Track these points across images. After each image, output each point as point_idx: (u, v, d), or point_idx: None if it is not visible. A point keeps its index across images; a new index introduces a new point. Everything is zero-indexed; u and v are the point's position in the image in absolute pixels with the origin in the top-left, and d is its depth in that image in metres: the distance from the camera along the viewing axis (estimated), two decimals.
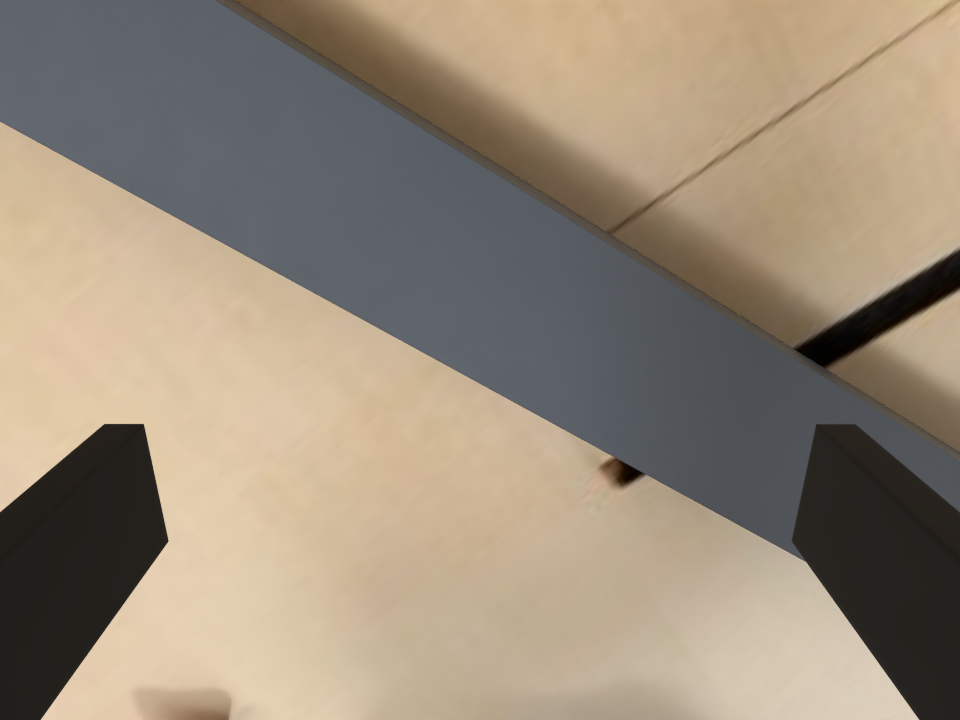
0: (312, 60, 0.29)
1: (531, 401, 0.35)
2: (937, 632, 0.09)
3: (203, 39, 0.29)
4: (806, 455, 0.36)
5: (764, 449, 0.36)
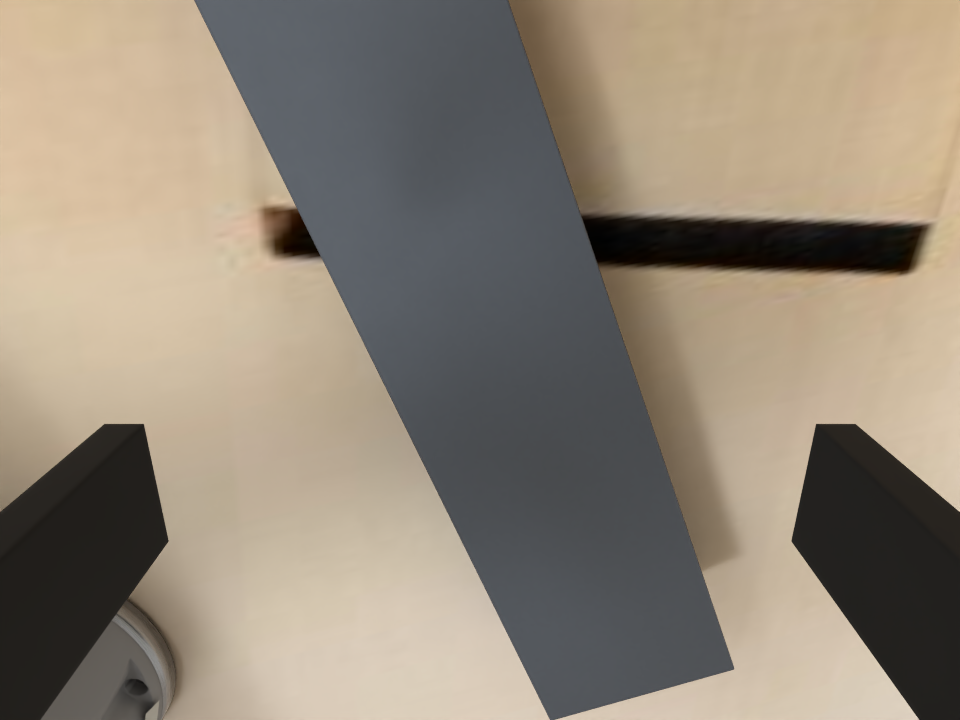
0: None
1: None
2: (937, 632, 0.09)
3: None
4: (492, 292, 0.25)
5: (448, 247, 0.25)
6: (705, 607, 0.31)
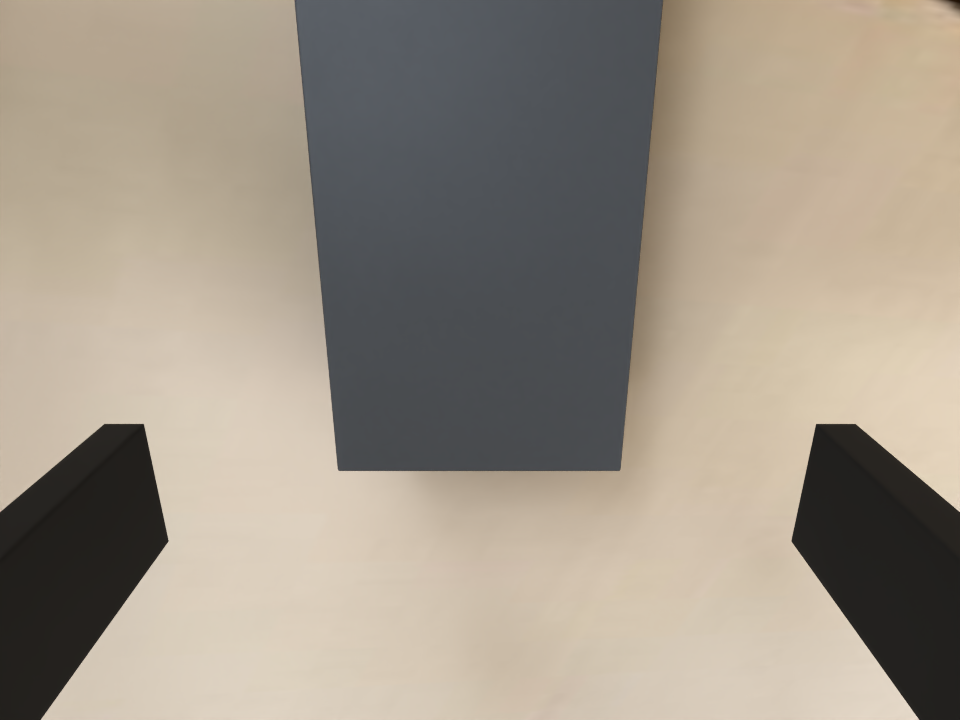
0: None
1: None
2: (937, 633, 0.09)
3: None
4: None
5: None
6: (619, 353, 0.21)
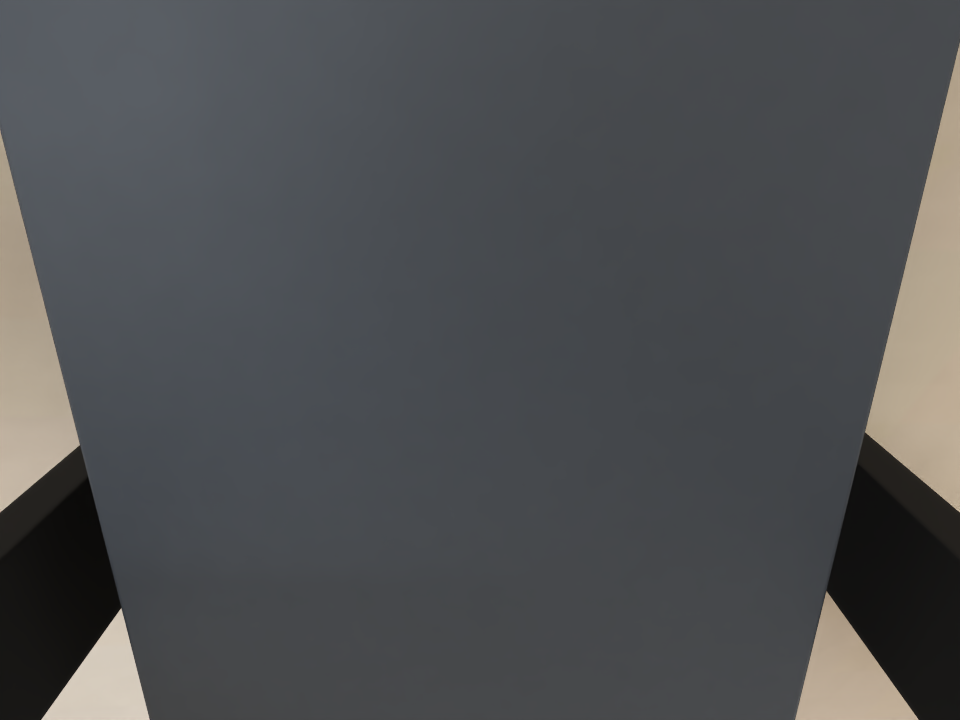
0: None
1: None
2: (936, 632, 0.09)
3: None
4: None
5: None
6: (787, 652, 0.09)
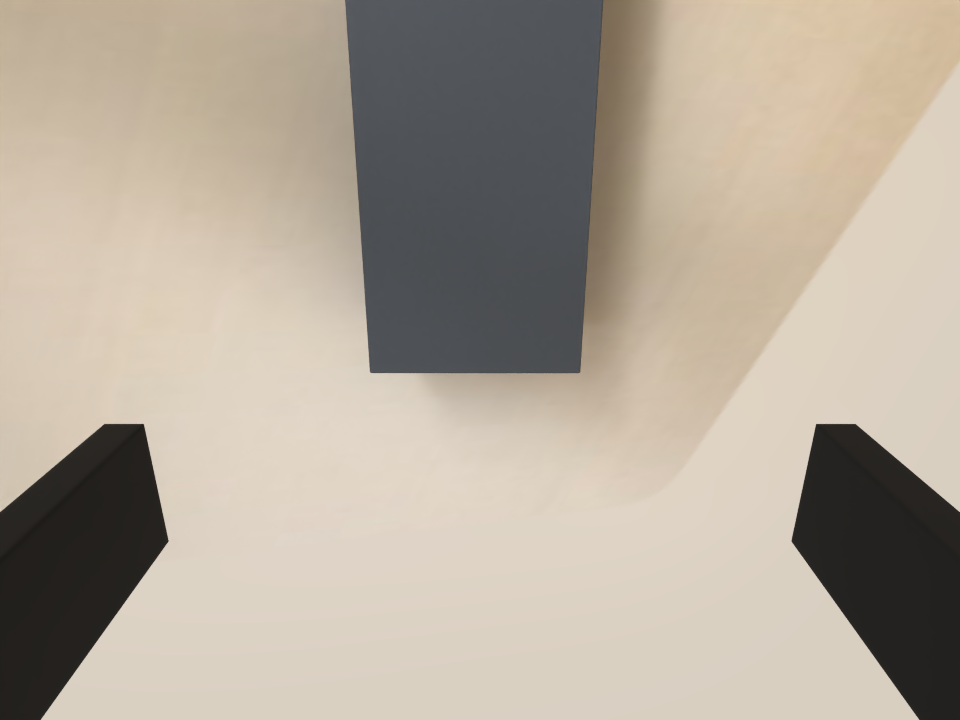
0: None
1: None
2: (936, 633, 0.09)
3: None
4: None
5: None
6: (577, 282, 0.29)
